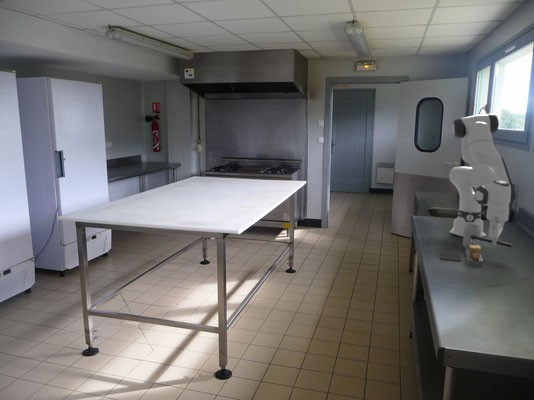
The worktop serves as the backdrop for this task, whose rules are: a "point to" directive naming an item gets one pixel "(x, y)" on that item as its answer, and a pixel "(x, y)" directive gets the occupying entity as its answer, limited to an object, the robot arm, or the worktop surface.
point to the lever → (491, 241)
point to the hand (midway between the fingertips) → (494, 244)
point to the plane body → (473, 257)
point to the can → (469, 231)
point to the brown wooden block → (474, 249)
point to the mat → (450, 257)
